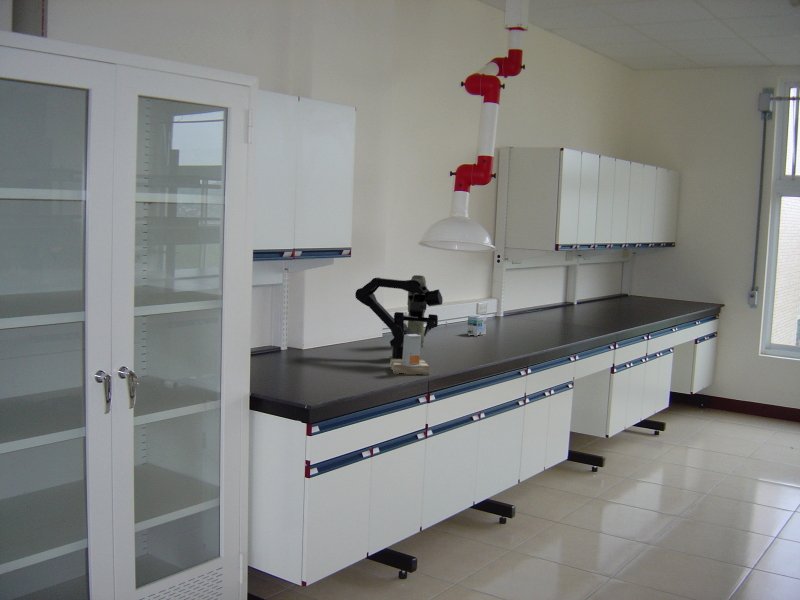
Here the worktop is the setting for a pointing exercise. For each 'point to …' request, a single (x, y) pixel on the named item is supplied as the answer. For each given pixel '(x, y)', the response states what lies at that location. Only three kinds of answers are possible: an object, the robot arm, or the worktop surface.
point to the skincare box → (411, 349)
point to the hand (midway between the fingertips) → (413, 335)
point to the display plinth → (409, 367)
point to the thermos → (418, 326)
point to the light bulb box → (476, 325)
